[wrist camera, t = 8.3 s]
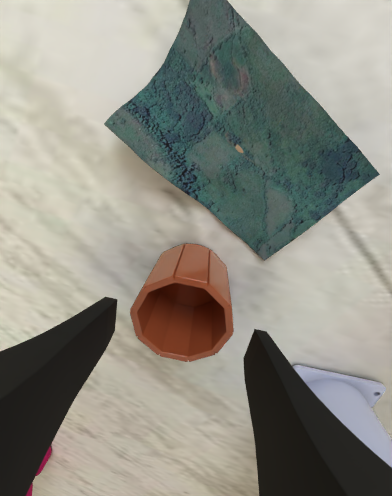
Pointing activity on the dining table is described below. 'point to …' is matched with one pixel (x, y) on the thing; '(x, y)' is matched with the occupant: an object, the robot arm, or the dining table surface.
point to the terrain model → (240, 132)
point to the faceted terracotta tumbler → (185, 305)
